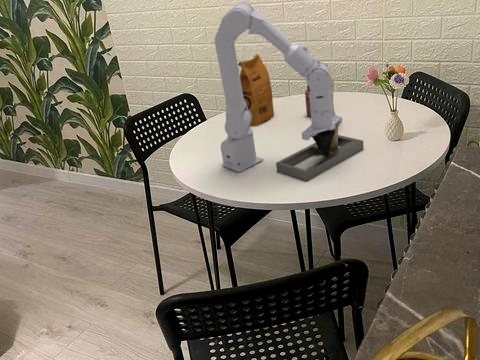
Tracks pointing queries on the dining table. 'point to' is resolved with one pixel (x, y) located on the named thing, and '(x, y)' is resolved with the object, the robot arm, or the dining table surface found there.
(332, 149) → the peg
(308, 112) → the supplement bottle
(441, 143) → the dining table surface
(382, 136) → the dining table surface
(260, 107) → the coffee package
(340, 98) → the dining table surface
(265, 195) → the dining table surface
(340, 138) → the keyhole plate
